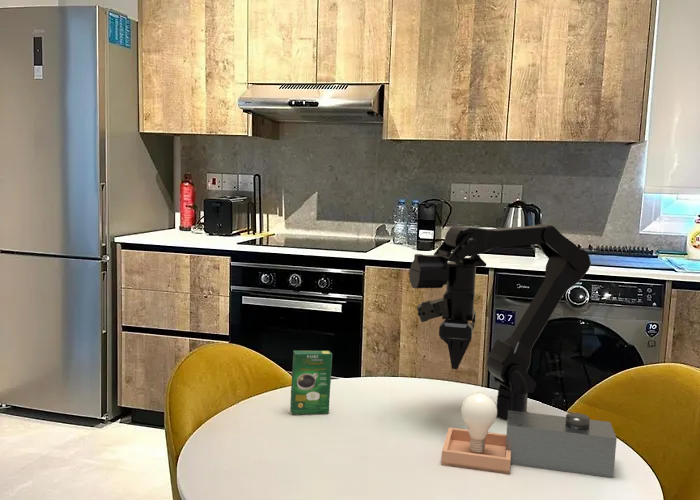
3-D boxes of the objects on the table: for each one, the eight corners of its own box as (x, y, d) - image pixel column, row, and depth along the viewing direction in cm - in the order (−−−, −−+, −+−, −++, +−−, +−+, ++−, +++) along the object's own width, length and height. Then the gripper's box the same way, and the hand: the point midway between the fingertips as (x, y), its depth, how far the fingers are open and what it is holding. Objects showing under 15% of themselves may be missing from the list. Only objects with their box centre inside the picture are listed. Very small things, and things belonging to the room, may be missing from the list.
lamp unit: (504, 463, 119) (507, 416, 118) (505, 445, 127) (508, 401, 126) (613, 477, 114) (617, 429, 113) (607, 458, 122) (610, 412, 121)
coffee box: (327, 409, 142) (330, 348, 141) (330, 414, 140) (332, 352, 138) (289, 410, 141) (291, 349, 139) (291, 415, 138) (293, 353, 136)
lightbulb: (495, 462, 118) (498, 400, 116) (458, 457, 119) (461, 397, 118) (494, 448, 124) (498, 390, 123) (459, 444, 125) (462, 386, 124)
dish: (448, 440, 128) (448, 427, 128) (510, 448, 125) (511, 435, 125) (441, 464, 117) (442, 450, 117) (509, 474, 114) (510, 460, 114)
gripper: (426, 278, 147) (422, 348, 149) (414, 292, 129) (411, 371, 131) (477, 282, 145) (473, 353, 146) (473, 296, 127) (469, 377, 128)
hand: (456, 362), depth 138 cm, fingers open, 9 cm apart
